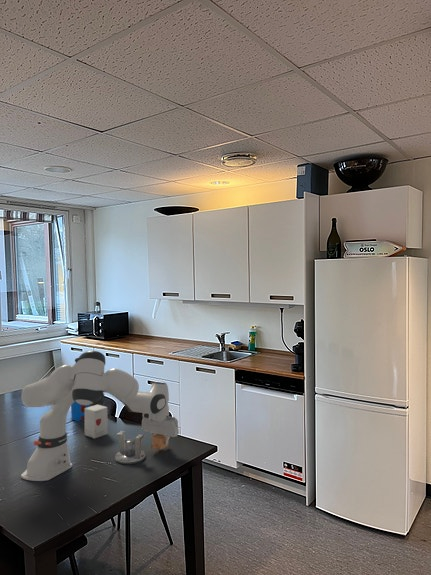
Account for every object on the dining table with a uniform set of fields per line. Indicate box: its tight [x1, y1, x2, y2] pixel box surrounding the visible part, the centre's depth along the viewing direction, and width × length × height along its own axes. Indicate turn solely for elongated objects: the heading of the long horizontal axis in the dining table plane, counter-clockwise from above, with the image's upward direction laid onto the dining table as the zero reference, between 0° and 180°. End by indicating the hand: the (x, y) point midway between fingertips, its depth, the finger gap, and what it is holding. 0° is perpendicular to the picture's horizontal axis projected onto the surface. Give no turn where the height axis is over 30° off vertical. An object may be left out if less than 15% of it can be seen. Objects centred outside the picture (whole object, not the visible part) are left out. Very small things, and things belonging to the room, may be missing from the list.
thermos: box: [70, 402, 91, 422], centre depth 260 cm, size 11×11×25 cm
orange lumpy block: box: [151, 434, 169, 451], centre depth 210 cm, size 6×11×6 cm, turn 151°
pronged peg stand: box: [114, 430, 146, 465], centre depth 202 cm, size 14×14×11 cm
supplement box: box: [84, 404, 108, 440], centre depth 232 cm, size 9×9×15 cm
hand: (160, 442), depth 210 cm, fingers closed on orange lumpy block, 6 cm apart
